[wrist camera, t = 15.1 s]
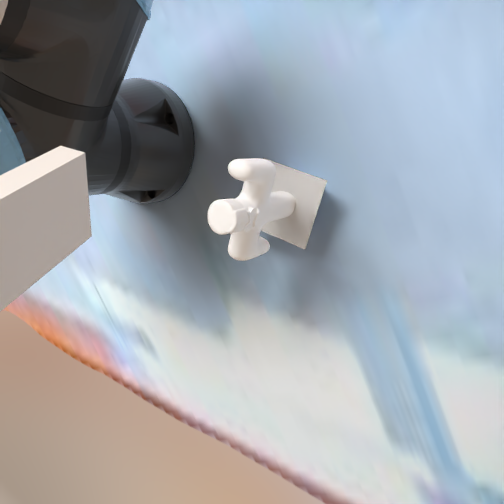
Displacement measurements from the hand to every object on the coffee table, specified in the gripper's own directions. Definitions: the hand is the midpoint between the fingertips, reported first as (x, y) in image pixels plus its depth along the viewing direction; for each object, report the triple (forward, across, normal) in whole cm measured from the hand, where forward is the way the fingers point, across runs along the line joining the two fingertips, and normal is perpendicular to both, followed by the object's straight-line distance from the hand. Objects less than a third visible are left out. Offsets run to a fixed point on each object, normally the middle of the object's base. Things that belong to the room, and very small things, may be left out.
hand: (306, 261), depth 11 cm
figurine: (+33, -4, -15) cm, 36 cm away
